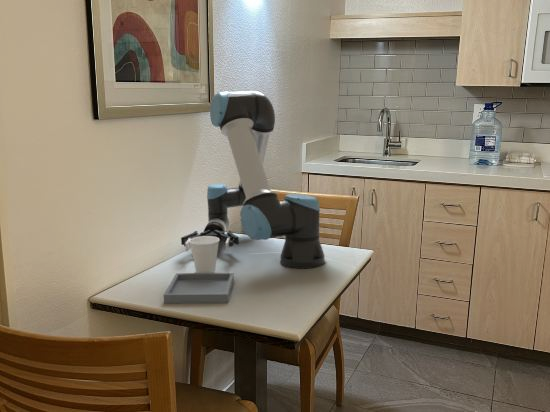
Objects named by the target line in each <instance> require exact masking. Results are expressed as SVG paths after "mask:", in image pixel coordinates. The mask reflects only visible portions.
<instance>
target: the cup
mask: <svg viewBox="0 0 550 412" xmlns="http://www.w3.org/2000/svg"><path fill="white" fill-rule="evenodd" d="M219 241H220V239H219V238H217V237H214V236H199V237H194V238H192V239H190V240H189V243H190V246H191V247H190V251H191V254H192V258H193V263H194V268H195V273H216V267H217V257H218V251H219V243H220V242H219Z"/></svg>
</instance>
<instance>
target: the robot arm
mask: <svg viewBox="0 0 550 412" xmlns="http://www.w3.org/2000/svg"><path fill="white" fill-rule="evenodd" d="M209 107H210V108H209V117H210V121H211V124H212V126H213V127H216V128H218V127H219V128H220V132H221V134H222V135H223V136H225V137H227V140H228V144H229V146H230V151H231V153H232V156H233V159H234V160H233V161H234V164H235V166H236V170H237V174H238V176H239V177H238V178H239V184H238V187H231V188H227V185H226V184H224V183H223V184H222V183H218V184H217V183H216V184H215V183H214V184H210V185H209V186H208V187H207V192H206V193H207V195H206V198H207V209H208V210H207V219H208V222H207V224H206V225H205V227H204V230H203V231H202V232H200V233H199V232H198V230H195V231H193V232H191V233H189V234H186V235H184V236H182V237H180V241H181V245H182V246H184V247H185V252H189V251H190V250H191V246H190V243H189V240H190V239H192V238H194V237H199V236H214V237H217V238H219V239H220V241H219V243H224V244H225V252H228V251H229V249H230V248H231V247H233V246H234V245H239V244H240V243H239V240H240V239H239V236H237V235H236V234H234V233H233V232H232V231H231V230H228V228H229V222H230V220H229V217H228V209H229V208H237V207H242V208H241V210H240V215H239V216H240V223H241V227H242V229H243V231H244V233H245V234H246V235H247V236H248V237H249V238H250V239H252V240H255V241H259V240H260V241H261V240H269V239H273V238H279V237H285V238H284V240H285V241H284V243H283V246H282V250H281V253H280V263H281V264H282V265H283V266H285V267H289V268H295V269H311V268H316V267H319V266H321V265H323V264H324V263H325V261H326V259H325V252H324V249H323V247H322V243H321V241H320V240H321V239H320V212H321V210H320V201H319V199H318V198H316V197H315V196H311V195H307V194H298V193H297V194H296V193H289V194H285V196H284V198H283V199H284V200H280V199H279V198H278V194H277V192H274V191H273V190H271V188H270V184H269V181H268V178H267V174H266V171H265V167H264V166H263V165H264V160H265V156H266V151H267V148H268V147H267V146H268V142H269V140H270V139H269V138H270V134H271V133H272V132H273V131H274V129H275V125H276V113H275V109H274V106H273V104H272V102H271V100H270V99H269V98H268V97H267V96H266V95H265V94H263V93H262V92H260V91H256V90H250V91H246V90H245V91H221V92H217V93H215V94H214V95H213V97H212V99H211V102H210V106H209ZM227 230H228V231H227ZM226 231H227V232H226Z"/></svg>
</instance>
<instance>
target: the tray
mask: <svg viewBox="0 0 550 412" xmlns="http://www.w3.org/2000/svg"><path fill="white" fill-rule="evenodd" d="M234 275H235V273H234V272H214V273H197V272H195V273H194V272H188V273H187V272H184V273H182V272H180V273H178V272H177V273H175V275H174V277H173V278H172V280H171V282H170V284H169V285H168V287H167V288H166V290H165V292H164V293H163V304H220V303H221V304H222V303H223V304H227V303H229V300H230V296H231V293H232V289H233V286H234V282H235V276H234Z"/></svg>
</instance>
